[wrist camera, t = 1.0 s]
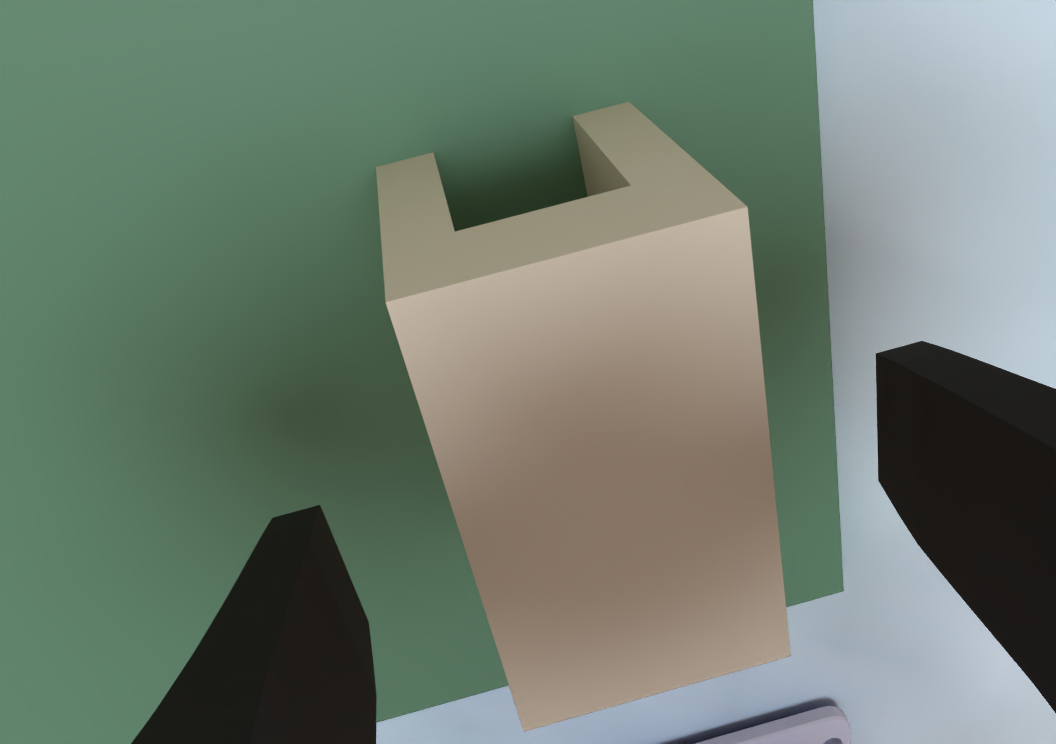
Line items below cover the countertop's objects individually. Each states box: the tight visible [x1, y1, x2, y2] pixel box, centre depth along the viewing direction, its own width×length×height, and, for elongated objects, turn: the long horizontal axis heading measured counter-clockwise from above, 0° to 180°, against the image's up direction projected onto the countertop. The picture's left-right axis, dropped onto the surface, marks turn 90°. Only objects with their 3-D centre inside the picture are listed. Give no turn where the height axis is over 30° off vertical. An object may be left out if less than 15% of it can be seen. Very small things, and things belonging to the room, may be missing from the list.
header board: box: [0, 0, 844, 744], centre depth 14 cm, size 20×24×3 cm
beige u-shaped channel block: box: [376, 102, 791, 731], centre depth 14 cm, size 7×4×5 cm, turn 12°
